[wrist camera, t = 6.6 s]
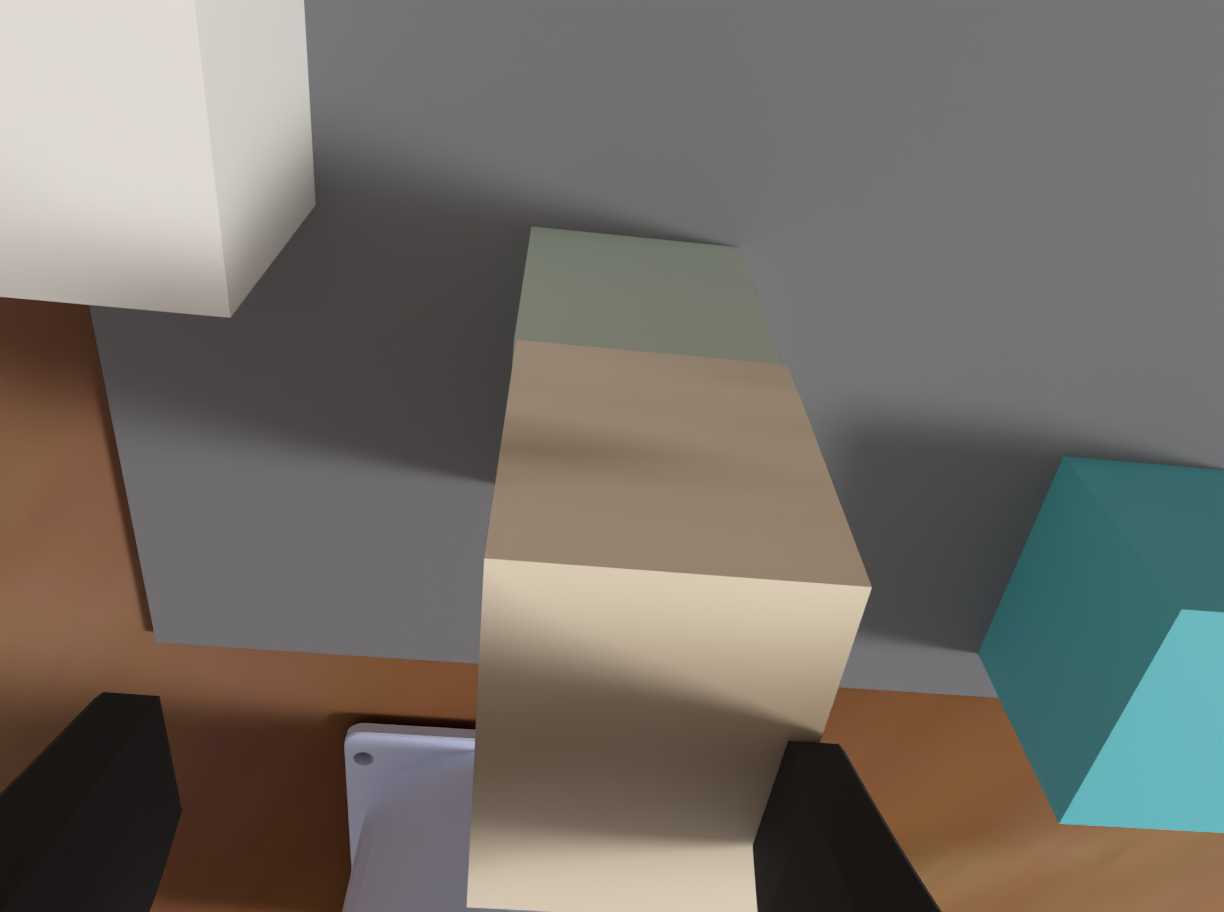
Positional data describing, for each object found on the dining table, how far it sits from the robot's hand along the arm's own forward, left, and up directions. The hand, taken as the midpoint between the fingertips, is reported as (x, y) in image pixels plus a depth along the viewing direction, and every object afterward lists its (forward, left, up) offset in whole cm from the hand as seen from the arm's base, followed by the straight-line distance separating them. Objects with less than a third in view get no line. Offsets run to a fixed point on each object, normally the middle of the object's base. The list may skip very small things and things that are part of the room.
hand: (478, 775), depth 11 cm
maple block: (0, -2, -5) cm, 5 cm away
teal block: (-4, -14, -10) cm, 18 cm away
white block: (+6, +6, -10) cm, 13 cm away
